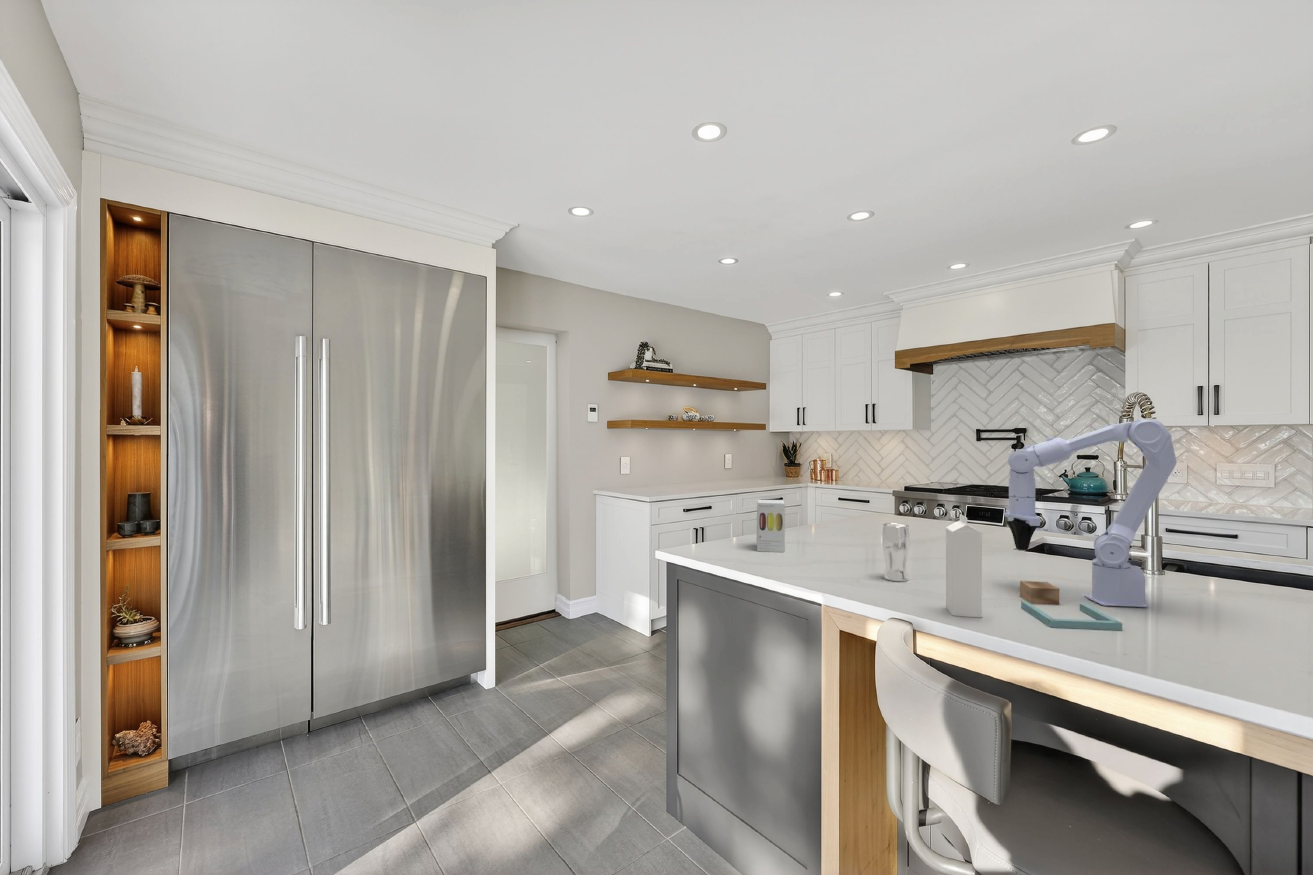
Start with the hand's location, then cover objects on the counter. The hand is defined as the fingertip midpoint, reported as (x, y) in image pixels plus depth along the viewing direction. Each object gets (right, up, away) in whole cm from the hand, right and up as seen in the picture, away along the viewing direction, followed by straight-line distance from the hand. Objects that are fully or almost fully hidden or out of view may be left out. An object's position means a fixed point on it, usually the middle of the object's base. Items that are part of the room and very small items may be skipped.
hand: (1021, 549), depth 147 cm
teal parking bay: (-4, -11, -22) cm, 24 cm away
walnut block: (-1, -11, -9) cm, 14 cm away
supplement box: (-54, -10, +52) cm, 76 cm away
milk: (-24, -11, -17) cm, 32 cm away
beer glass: (-27, -11, +12) cm, 32 cm away
